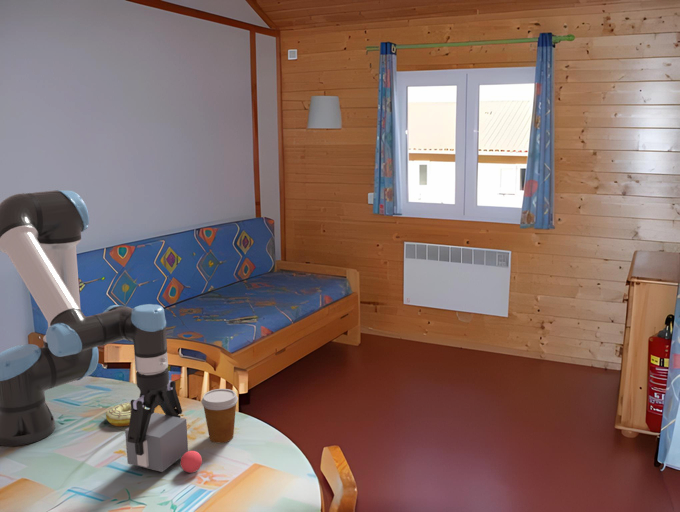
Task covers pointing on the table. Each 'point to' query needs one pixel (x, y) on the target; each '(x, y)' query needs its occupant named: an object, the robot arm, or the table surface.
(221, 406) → the disposable coffee cup
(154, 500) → the table surface
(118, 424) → the decorated donut
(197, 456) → the ball
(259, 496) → the table surface
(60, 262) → the robot arm
